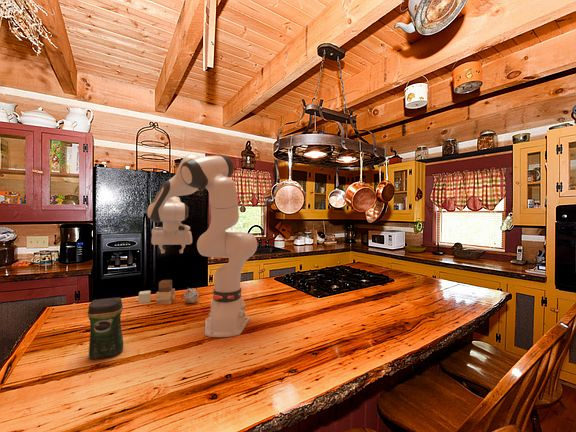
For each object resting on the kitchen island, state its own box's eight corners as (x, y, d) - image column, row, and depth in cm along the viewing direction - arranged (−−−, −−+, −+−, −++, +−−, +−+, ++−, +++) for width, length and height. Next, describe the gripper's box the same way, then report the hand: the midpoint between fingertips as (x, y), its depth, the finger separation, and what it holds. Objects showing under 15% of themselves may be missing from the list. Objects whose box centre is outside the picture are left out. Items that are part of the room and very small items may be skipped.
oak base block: (169, 304, 139) (169, 292, 138) (156, 304, 138) (155, 292, 138) (174, 299, 146) (174, 288, 145) (161, 299, 145) (161, 288, 145)
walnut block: (168, 291, 140) (168, 282, 139) (158, 292, 139) (158, 282, 139) (172, 289, 145) (171, 279, 144) (162, 289, 144) (162, 280, 144)
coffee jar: (125, 345, 96) (125, 294, 96) (120, 356, 89) (119, 301, 88) (93, 350, 93) (92, 296, 93) (84, 362, 86) (84, 304, 85)
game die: (194, 309, 142) (206, 292, 144) (187, 309, 134) (200, 291, 136) (182, 299, 144) (194, 283, 146) (174, 298, 136) (187, 281, 138)
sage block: (149, 302, 140) (149, 293, 140) (138, 303, 139) (138, 294, 139) (150, 299, 145) (150, 290, 145) (140, 300, 143) (140, 291, 143)
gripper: (149, 227, 138) (149, 254, 138) (189, 227, 140) (189, 253, 140) (154, 226, 145) (154, 252, 145) (193, 226, 146) (193, 252, 146)
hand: (172, 253), depth 142 cm, fingers open, 8 cm apart
